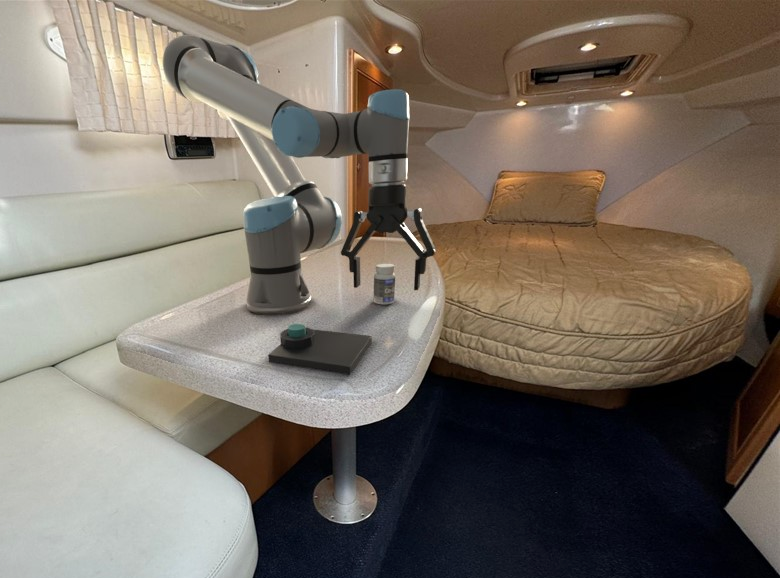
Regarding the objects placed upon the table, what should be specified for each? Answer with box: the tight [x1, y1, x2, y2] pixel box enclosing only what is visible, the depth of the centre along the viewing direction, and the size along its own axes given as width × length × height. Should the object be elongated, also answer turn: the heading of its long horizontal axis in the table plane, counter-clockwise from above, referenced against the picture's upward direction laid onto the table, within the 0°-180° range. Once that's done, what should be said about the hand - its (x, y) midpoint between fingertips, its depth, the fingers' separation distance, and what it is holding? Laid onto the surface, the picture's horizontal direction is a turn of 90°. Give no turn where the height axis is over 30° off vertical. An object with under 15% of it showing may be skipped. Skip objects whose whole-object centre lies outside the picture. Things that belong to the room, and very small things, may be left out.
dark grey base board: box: [267, 326, 373, 376], centre depth 61 cm, size 14×12×3 cm
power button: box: [287, 323, 306, 338], centre depth 62 cm, size 3×3×2 cm
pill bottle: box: [373, 263, 396, 306], centre depth 82 cm, size 5×5×8 cm
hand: (386, 287), depth 82 cm, fingers open, 13 cm apart
